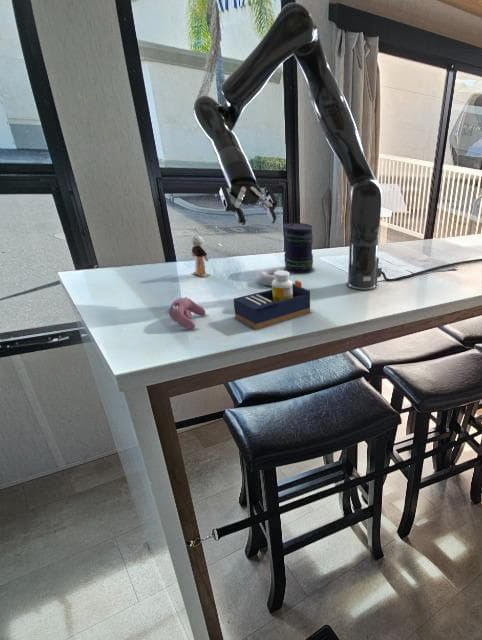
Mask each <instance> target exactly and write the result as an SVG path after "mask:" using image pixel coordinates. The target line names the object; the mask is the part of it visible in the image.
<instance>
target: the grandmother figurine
mask: <svg viewBox="0 0 482 640" xmlns="http://www.w3.org/2000/svg"><path fill="white" fill-rule="evenodd" d="M190 238H191V244H192V245H193V246H192V249H191V256H192V257H193V258H194V259H195V265H194V267H195V271H194V272H193V275H195V276H199V277H200V278H204V277H208V275H209V274H208V273H207V271H206V270H207V269H206V263H205V262H209V260H210V259H209V258H208V253H207V252H206V251H205V250H204V249H203V247H202V244H203V243H204V242H205V241H204V239H203V238H202V236H200V235H199V234H192V235H191V237H190Z"/></svg>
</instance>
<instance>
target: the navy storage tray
mask: <svg viewBox="0 0 482 640" xmlns="http://www.w3.org/2000/svg"><path fill="white" fill-rule="evenodd" d="M292 285H293V298H290V299H286V300H282V301H279V302H274V301H273V294H272V288H271V289H267V290H264V291H259V292H255V293H251V294H246V295H243V296H239V297H235V298H233V300H232V301H233V308H234V309H233V310H234V317H235V318H234V319H236V320H238V321H240V322H242V323H243V324H245V325H247V326H249V327H251V328H252V329H254V330H259V329H260V330H261V329H263V328H266V327H270V326H272V325H276V324H279V323H282V322H285V321H287V320H291V319H294V318H297V317H300V316H304V315H307V314H310V313H311V290H310V289H307V288H304V287H302V282H301V281H299V280H297V279H296V280H294V283H293V282H292Z"/></svg>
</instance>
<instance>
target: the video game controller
mask: <svg viewBox="0 0 482 640" xmlns="http://www.w3.org/2000/svg"><path fill="white" fill-rule="evenodd" d="M167 313H168V315H169V317H170V318H171V320H172V321H173V322H176V323H177V324H178V325H180V326H181V327H183V328H186V329H187V330H194V329H195V328H196V324H195V322H194V321H193V320H191V319H192V318H193V314H195V315H197V316H201V317H204V316H205V315H206V310H205V309H204V308H203V307H202V306H201V305H200V304H197V303H196V302H195V301H194V300H192V299H191V298H188V297H187V296H185V297H180V298H177V299H175V300H173V302H172V303H171V305H170V307H169V308H168V312H167Z"/></svg>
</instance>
